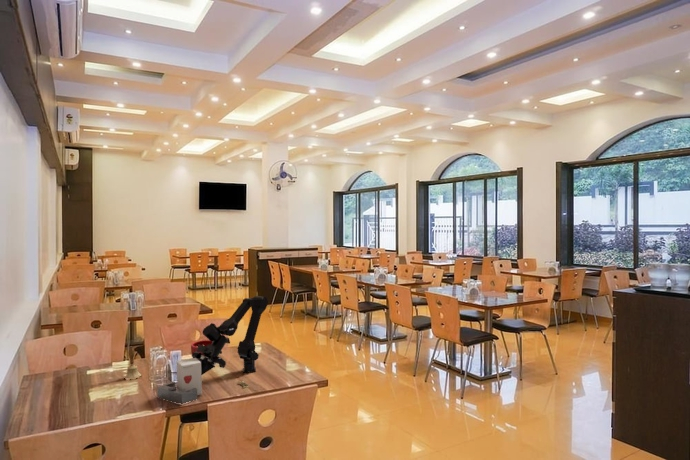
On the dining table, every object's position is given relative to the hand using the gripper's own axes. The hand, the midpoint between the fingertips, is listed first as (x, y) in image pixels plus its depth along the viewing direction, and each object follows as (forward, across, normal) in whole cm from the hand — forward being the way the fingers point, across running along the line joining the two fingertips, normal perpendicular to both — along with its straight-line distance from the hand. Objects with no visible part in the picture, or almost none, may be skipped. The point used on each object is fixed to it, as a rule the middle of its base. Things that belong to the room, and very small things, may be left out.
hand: (198, 375), depth 219 cm
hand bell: (+9, -44, +1) cm, 45 cm away
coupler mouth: (+13, 0, -4) cm, 14 cm away
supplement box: (+9, 0, +1) cm, 9 cm away
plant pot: (-14, -29, +24) cm, 40 cm away
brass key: (-6, +13, +16) cm, 21 cm away
